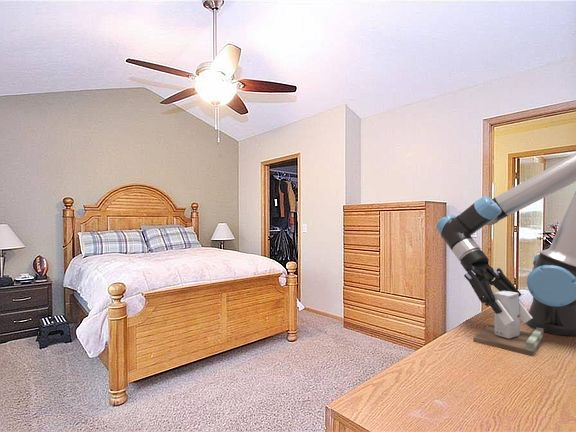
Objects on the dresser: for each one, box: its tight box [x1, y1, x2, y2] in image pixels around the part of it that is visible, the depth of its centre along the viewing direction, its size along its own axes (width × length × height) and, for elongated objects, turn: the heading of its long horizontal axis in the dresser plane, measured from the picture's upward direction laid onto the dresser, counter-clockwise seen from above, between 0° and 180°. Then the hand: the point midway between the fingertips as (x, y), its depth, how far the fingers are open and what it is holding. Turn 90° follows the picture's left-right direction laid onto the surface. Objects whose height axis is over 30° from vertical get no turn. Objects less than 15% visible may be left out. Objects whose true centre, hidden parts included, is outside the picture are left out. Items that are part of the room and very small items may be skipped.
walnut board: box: [473, 324, 544, 357], centre depth 100 cm, size 16×14×3 cm
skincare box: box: [493, 291, 521, 338], centre depth 100 cm, size 6×4×12 cm
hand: (519, 321), depth 97 cm, fingers open, 7 cm apart
